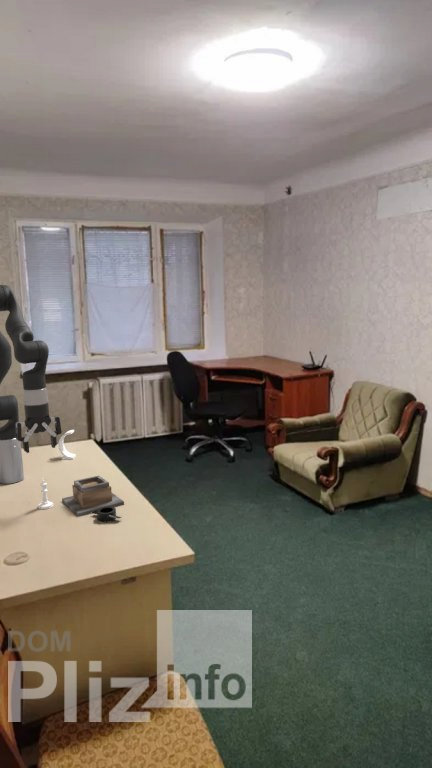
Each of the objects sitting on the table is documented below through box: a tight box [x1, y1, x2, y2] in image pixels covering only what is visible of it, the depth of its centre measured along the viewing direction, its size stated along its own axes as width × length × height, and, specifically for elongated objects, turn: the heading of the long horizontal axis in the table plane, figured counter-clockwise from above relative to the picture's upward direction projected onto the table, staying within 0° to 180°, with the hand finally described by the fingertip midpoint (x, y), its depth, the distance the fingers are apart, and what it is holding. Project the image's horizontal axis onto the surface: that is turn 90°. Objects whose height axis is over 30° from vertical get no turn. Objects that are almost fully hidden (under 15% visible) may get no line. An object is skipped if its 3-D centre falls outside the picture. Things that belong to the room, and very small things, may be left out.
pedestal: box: [61, 475, 125, 517], centre depth 183 cm, size 16×16×8 cm
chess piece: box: [37, 477, 54, 510], centre depth 181 cm, size 5×5×10 cm
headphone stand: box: [57, 429, 77, 460], centre depth 234 cm, size 5×6×12 cm
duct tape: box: [91, 507, 122, 523], centre depth 170 cm, size 8×10×3 cm
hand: (40, 449), depth 178 cm, fingers open, 8 cm apart
